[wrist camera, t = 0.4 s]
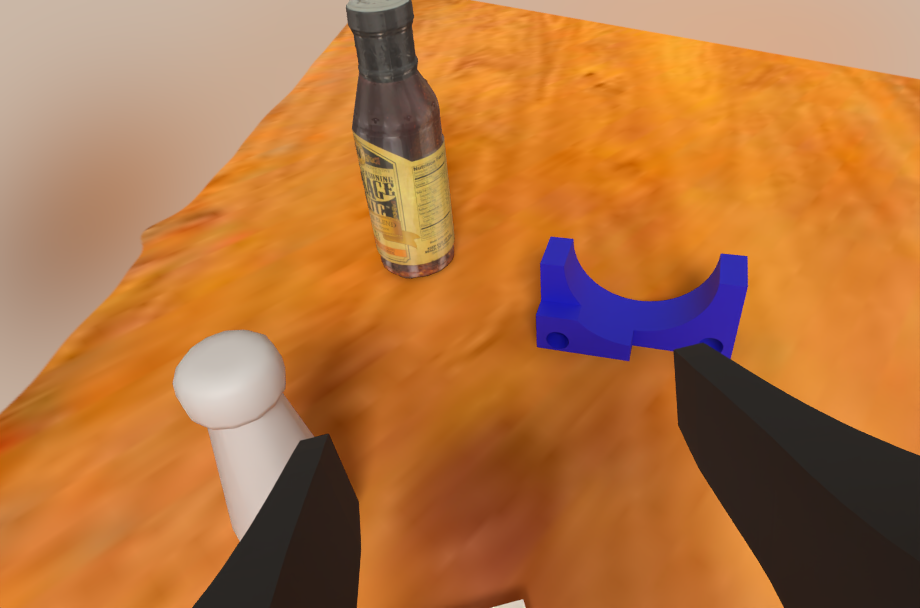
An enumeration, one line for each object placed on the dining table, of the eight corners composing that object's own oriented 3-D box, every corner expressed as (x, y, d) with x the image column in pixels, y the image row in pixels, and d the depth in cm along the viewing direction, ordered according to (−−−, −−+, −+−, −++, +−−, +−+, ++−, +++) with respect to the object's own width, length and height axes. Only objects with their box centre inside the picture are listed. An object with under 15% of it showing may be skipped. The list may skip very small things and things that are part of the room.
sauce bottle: (370, 252, 53) (311, -3, 41) (439, 229, 55) (402, -23, 42) (397, 295, 48) (339, 20, 36) (471, 268, 50) (441, -4, 37)
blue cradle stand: (537, 348, 43) (534, 278, 39) (551, 306, 46) (550, 236, 42) (729, 378, 39) (747, 303, 35) (730, 329, 42) (747, 256, 38)
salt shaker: (231, 525, 34) (127, 352, 26) (324, 465, 37) (256, 289, 29) (278, 608, 31) (173, 436, 22) (378, 535, 33) (316, 356, 25)
